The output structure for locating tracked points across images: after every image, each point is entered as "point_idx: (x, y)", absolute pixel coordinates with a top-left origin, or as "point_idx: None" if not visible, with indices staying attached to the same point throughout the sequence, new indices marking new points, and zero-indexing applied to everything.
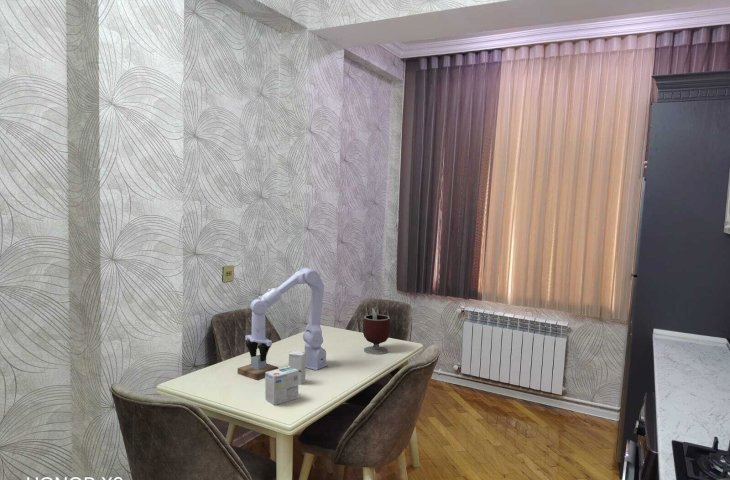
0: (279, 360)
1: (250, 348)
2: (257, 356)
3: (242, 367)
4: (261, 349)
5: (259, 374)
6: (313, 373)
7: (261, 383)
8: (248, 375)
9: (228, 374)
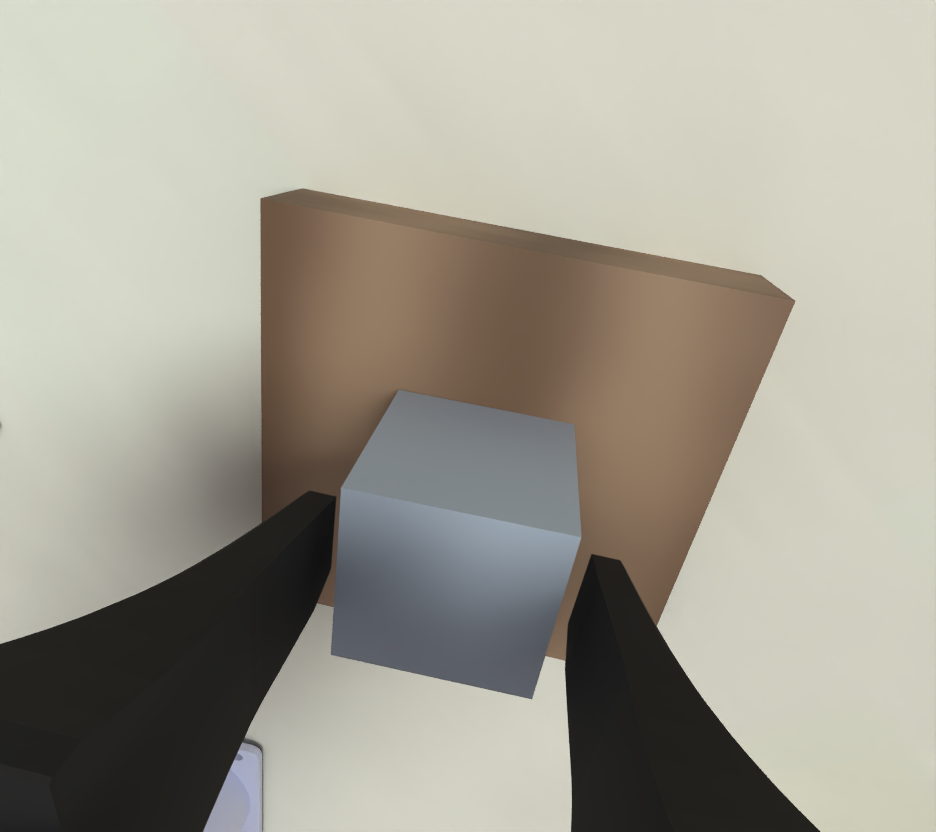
0: (542, 807)
1: (639, 742)
2: (492, 621)
3: (724, 372)
4: (13, 650)
5: (266, 257)
6: (21, 636)
7: (147, 110)
8: (487, 229)
9: (911, 167)
